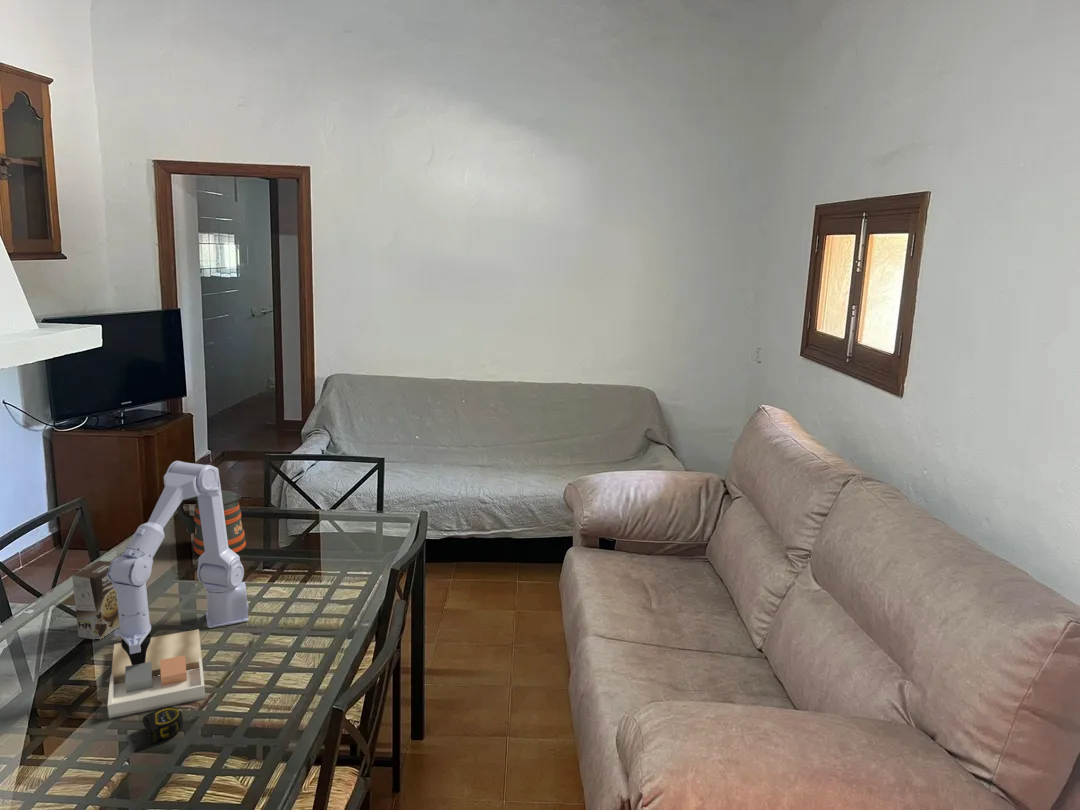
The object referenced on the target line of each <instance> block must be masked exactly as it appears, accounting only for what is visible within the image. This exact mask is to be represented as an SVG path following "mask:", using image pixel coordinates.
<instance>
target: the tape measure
mask: <svg viewBox="0 0 1080 810" xmlns="http://www.w3.org/2000/svg"><path fill="white" fill-rule="evenodd" d="M142 723H143V726H144V728H145V731H146V733H147V740H148V742H151V743H156V742H159V741H160V740H163V739H168V738H170V737H171V738H172V737H173V736H175V735H176V734H177V733H179V732H180V730H182V727H183V725H184V716H183V713H182V711H181V710H179V708H177V707H174V706H167V707H162V708H157V709H155V710H154V711H152V712H151V713H147V714H146V715H144V716H143V718H142Z"/></svg>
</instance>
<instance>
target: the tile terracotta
mask: <svg viewBox="0 0 1080 810" xmlns="http://www.w3.org/2000/svg"><path fill="white" fill-rule="evenodd" d="M160 670H161V684H162V685H167V684H172V683H177V682H182V681H187V672H186V659H185V655H184V656H179V657H173V658H168V659H163V660H160Z"/></svg>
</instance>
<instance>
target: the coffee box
mask: <svg viewBox="0 0 1080 810" xmlns="http://www.w3.org/2000/svg"><path fill="white" fill-rule="evenodd" d="M111 562H112V561H107V560H97V561H95V562H94V563H92V564H90V565H88V566H86V567H85V568H82V569H81V570H79V571H77V572H76V573H73V574H72V575H71V577H72V588H73V595H74V596H73V597H74V605H75V615H76V625H77V635H78V638H83V639H89V640H95V639H100V640H99V641H102V640H103V639H105V638H106V637H108V636H109V635H110V634H112V633H113V632H114V631H113V630H115V629H116V628H118V627H119V626H120V624H119V614H118V605H117V596H116V591H115V589H113V584H112V582H111V581H110V580H109V579H108V577H107V573H108V572H109V566H110V564H111ZM119 628H120V627H119ZM119 628H118V629H119ZM112 631H113V632H112ZM111 632H112V633H111ZM108 634H109V635H108ZM107 635H108V636H107ZM105 636H106V637H105ZM104 637H105V638H104ZM102 638H103V639H102ZM101 639H102V640H101Z"/></svg>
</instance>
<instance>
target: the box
mask: <svg viewBox="0 0 1080 810" xmlns="http://www.w3.org/2000/svg"><path fill="white" fill-rule="evenodd" d="M203 666H204V665H203V658H199V667H200V668H196V669H191V670H186V672H187V681H182V682H177V683H172V684H167V685H162V684H161V675H160V676H155V677H152V679H153V687H152V688H147V689H142V690H137V691H132V692H127V693H126V686H125V682H124V683H119V684H115V682H114V674H113V675H111V674H110V676H109V686H108V696H107V697H108V698H107V713H108V719H113V718H117V717H119V718H120V717H123V716H128V715H132V714H138V713H142V712H147V711H152V710H158V709H160V708H161V707H162V708H165V707H173V706H175V705H181V704H186V703H190V702H195V701H200V700H205V699H206V691H205V690H206V689H205V688H206V687H205V678H204V677H205V676H204V668H203Z"/></svg>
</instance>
